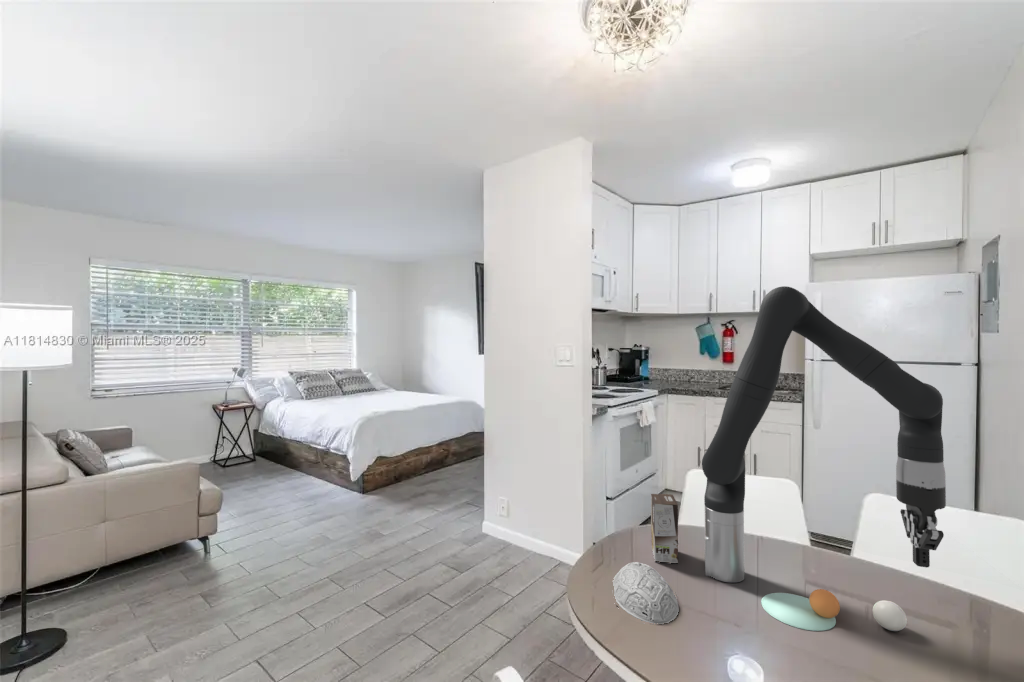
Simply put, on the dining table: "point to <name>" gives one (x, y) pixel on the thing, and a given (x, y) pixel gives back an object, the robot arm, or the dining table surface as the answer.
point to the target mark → (795, 612)
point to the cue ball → (889, 615)
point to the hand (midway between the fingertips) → (921, 565)
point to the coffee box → (664, 527)
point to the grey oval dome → (645, 593)
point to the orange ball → (824, 603)
